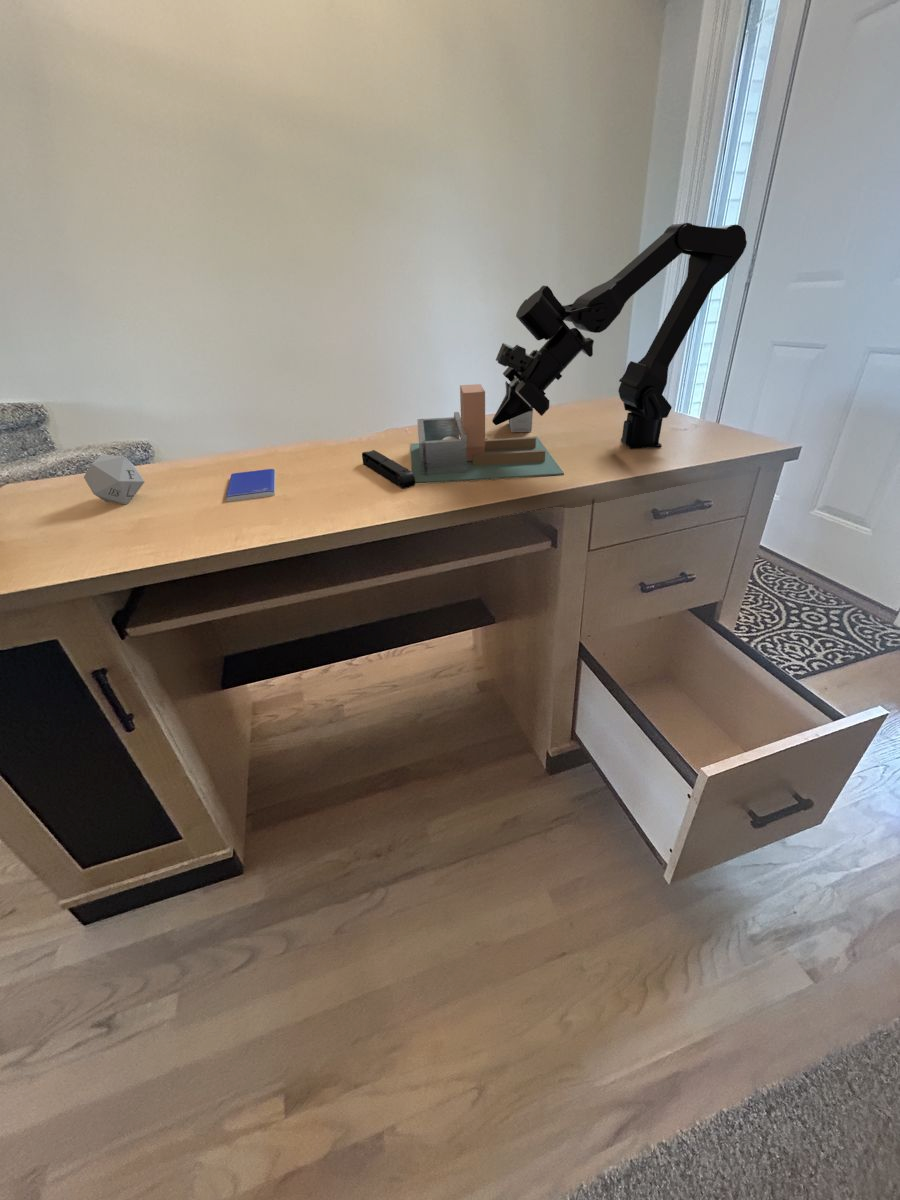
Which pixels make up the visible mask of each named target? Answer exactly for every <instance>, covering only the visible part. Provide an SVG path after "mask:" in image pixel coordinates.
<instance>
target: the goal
mask: <svg viewBox="0 0 900 1200" xmlns="http://www.w3.org/2000/svg"><path fill="white" fill-rule="evenodd" d="M416 421H417V422H416V423H417V434H418V443H419V452H420V466H421V475H437V474H454V473H467V452H466V441H467V434H466V432H465V429H464V426H463V423H462V420H461V413H460V412H459V411H455V412H453V416H450V417H449V416H448V417H433V418H417V420H416ZM445 437H454V438H456V439H453V440H442V439H444V438H445Z"/></svg>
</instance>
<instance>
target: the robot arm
mask: <svg viewBox="0 0 900 1200" xmlns="http://www.w3.org/2000/svg"><path fill="white" fill-rule="evenodd" d="M745 231H746V230H745V229H744V227H742V225H738V224H729V225H717V226H701V225H697V224H696V225H695V224H692V223H691V222H683V223H682V222H681V223H674V224H671V225H670V226H668V227H667V228H666V229H665V231H664V232H663V233H662V234H661V235H660V236H658V237H657V239H655V240H654V241H653V242H652V243H651V244H649V246H648V247H646V248H645V249H644V250H643V251H642V252H641V253H639V254H638V255H637V256H636V257H635V258H634V259H633V260H632V261H630V262H629V263H628V264H626V266H625V267H624V268H623V269H621V270H620V271H619V272H618V273H616V275H614V276H613V277H612V278H611V279H609V280H607V281H605V282H603V283H601V284H599V285H596V286H594V287H592V288H591V289H589V290H588V291H587V292H585V293H582V294H581V295H580V296H578V297H577V298H576V299H575V300H574V302H573V303H571V304H570V303H569V304H565V305H562V303H561V302H560V301H559V300H558V299H557V297H556V296H555V295H554V293H553V291H552V290H551V289H552V288H550V287H549V286H548V285H542V286H541V287H540V288H539V289H538V290H537V291H535V292H534V293H532V294H531V295H530V296H529V297H528V298H526V299H525V300H523V302H522V303H521V305H520V306H519V307H518V309H517V311H516V314H515V318H517V320H518V321H519V322H520V323H521V324H522V325H523V326H524V327H525V328H526V330H527V332H529V333H530V334H531V335H532V337H534V338H535V340H537V341H542V340H544V341H546V342H545V343H544V344H543V345H542V347H540V349H539V350H538V349H534V350H532V351H531V353H530V354H528V353H527V351H526V350H527V349H526V347H522V346H520V345H519V344H516V345H515V346H514V347H513V346H511V345H509V344H507V343H505V342H502V344H501V346H500V348H499V350H498V354H497V356H496V359H495V361H496V362H497V363H498V364H499V365H502V366H503V367H507V368H506V369H505V371H503V372H502V375H503V376H504V377H505V378H506V379H508V381H509V383H508V381H507V380H505V395H504V397H503V400H502V401H501V404H500V405H499V407H498V409H497V411H496V412H495V415H494V416H493V418H492V419H491V420H492V421H491V422H492V423H493V424H494V425H495V426H498V425H501V424H502V423H505V422H507V421H509V420H510V419H512V418H514V417H516V416H519V415H521V414H524V413H526V412H529V411H533V412H534V410H535V411H536V413H538V414H539V415H540V416H541V417H542V416H544V414H546V412H547V411H548V410H549V409H550V399H548V397H547V396H546V392H545V391H546V389H548V387H549V386H550V385H552V383H553V382H554V381H555V380H557V381H559V380H560V379H561V378H562V377H563V375H562V372H564V370H565V369H566V368H567V367H568V366H569V365H570V364H571V363H572V362H573V360H574V359H576V357H577V356H578V355H579V354H580V353H581V352H582V353H583V354H585V355H586V356H588V357H589V358H591V357H592V356H593V354H594V353H593V352H594V351H593V350H594V349H593V348H594V342H595V341H594V339H592V338H591V337H585V336H584V334H583V333H582V332H581V331H585V332H589V333H593V334H595V333H597V334H599V333H602V332H603V331H606V330H607V329H608V328H609V327H610V325H611V324H612V323H613V322H614V321H615V320H616V319H617V318H618V316H619V315H620V314H621V312H622V311H623V308H624V306H625V304H626V303H627V302H628V301H629V299H631V297H633V296H634V295H635V294H636V293H637V292H638V291H639V290H641V288H642V287H644V286H645V285H646V284H647V283H648V282H650V281H651V280H652V279H653V278H654V277H656V276H657V275H658V274H659V273H660V272H661V271H662V270H663V269H665V268H666V267H667V266H668V265H670V264H671V263H672V262H673V261H674V260H675V259H676V258H678V257H679V256H680V255H681V254H682V255H687V256H688V255H689V259H688V264H687V265H688V266H687V275H686V278H685V280H684V283H683V285H682V286H681V288H680V290H679V292H678V293H677V295H676V298H675V299H674V302H673V303H672V305H671V307H670V308H669V311H668V313H667V315H666V317H664V320H663V322H662V324H661V325H660V328H659V330H658V331H657V333H656V335H655V336H654V339H653V341H652V343H651V344H650V346H649V349H648V350H647V352H646V354H645V355H644V356H643V357H642V358H641V359H640V360H638V362H635V361H629V362H628V364H627V366H626V369H625V371H624V374H623V375H622V377H620V378H619V380H618V382H619V383H620V384H619V387H618V395H619V399H620V400H621V402H622V403H623V407H624V410H625V411H626V412H627V411H628V412H627V416H626V420H624V421H623V428H622V433H621V435H622V436H621V438H620V442H622V443H623V444H624V445H626V446H627V448H629V449H630V450H637V449H638V450H640V449H654V448H662V443H660V436H661V431H662V425H663V419H666V418H668V416H669V414H670V413H671V410H672V408H673V407H672V405H671V404H670V403H669V401H668V400H667V399H666V397H665V396H664V395H663V393H664V391H665V388H666V387H667V384H668V373H669V367H670V364H671V362H672V360H674V358H675V355H676V354H677V352H678V350H679V348H680V346H681V344H682V342H683V341H684V339H685V337H686V335H687V334H688V331H689V330H690V328H691V326H692V325H693V323H694V321H695V319H696V318H697V315H698V314H699V312H700V310H701V308H702V307H703V304H704V303H705V302H706V300H707V298H708V296H709V294H710V292H711V291H712V289H713V288H714V286H715V285H716V284H718V282H720V281H721V280H722V279H723V278H724V277H726V275H728V274H729V273H730V272H731V271H732V269H733V268H734V266H735V265H736V264H737V262H738V261H739V260H740V259H741V256H742V255H743V254H744V252H745V249H746V247H747V245H748V244H747V243H748V242H747V235H746V232H745ZM565 321H566V322H568V323H569V322H570V323H572V325H573V326H574V327H572V328H570V327H569V326H568V325H567V324H566V323H565ZM580 330H581V331H580ZM531 406H532V407H533V409H532V408H531Z"/></svg>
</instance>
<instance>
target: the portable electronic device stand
mask: <svg viewBox="0 0 900 1200" xmlns="http://www.w3.org/2000/svg"><path fill="white" fill-rule="evenodd" d="M361 457H362V458H361V460H362V465H364V466H365V467H366V468H368V469H370V470H371V471H373V472H375V473H376V475H379V476H381V477H383V478H384V479H385V480H387V481H388V482H390V483H392V484H394V485H395V486H396V487H398V488H400V489H402V490H404V489H409V488H412V487H415V485H416V484H415V477H414V475H413V473H412V472H411V469H408V468H407V467H405V466H404V465H401V464H399V463H398V462H397V461H395V460H393V459H391V458H390V457H388V456H386V455H384V454H382V453H380V452H379V451H377V450H374V449H373V450H369V451H364V452H362V453H361Z"/></svg>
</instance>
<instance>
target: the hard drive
mask: <svg viewBox="0 0 900 1200" xmlns="http://www.w3.org/2000/svg"><path fill="white" fill-rule="evenodd" d="M227 486H228V487H227V491H226V495H225V499H226V502H235V501H242V500H251V499H256V498H265V497H274V496H276V471H275V469H274V468H267V469H260V470H257V469H256V470H252V471H251V470H249V471H243V472H234V473H233V472H232V473H231V474H230V478H229V481H228V485H227Z"/></svg>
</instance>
